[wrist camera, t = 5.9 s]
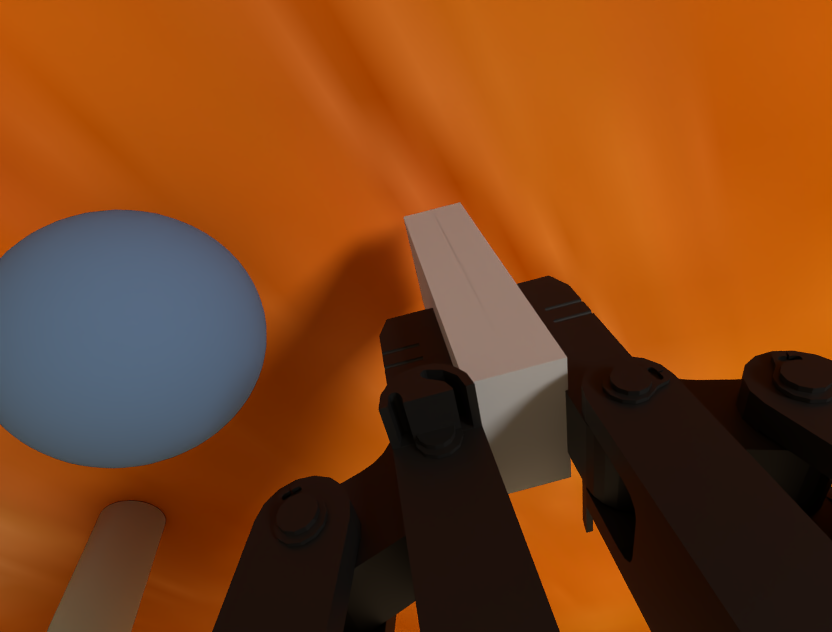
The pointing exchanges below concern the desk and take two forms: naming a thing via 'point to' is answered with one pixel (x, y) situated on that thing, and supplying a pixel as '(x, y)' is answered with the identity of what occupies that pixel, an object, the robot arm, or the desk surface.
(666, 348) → the desk surface
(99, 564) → the sage pin
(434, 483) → the robot arm
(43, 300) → the ball
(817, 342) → the desk surface
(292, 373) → the desk surface
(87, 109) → the desk surface
